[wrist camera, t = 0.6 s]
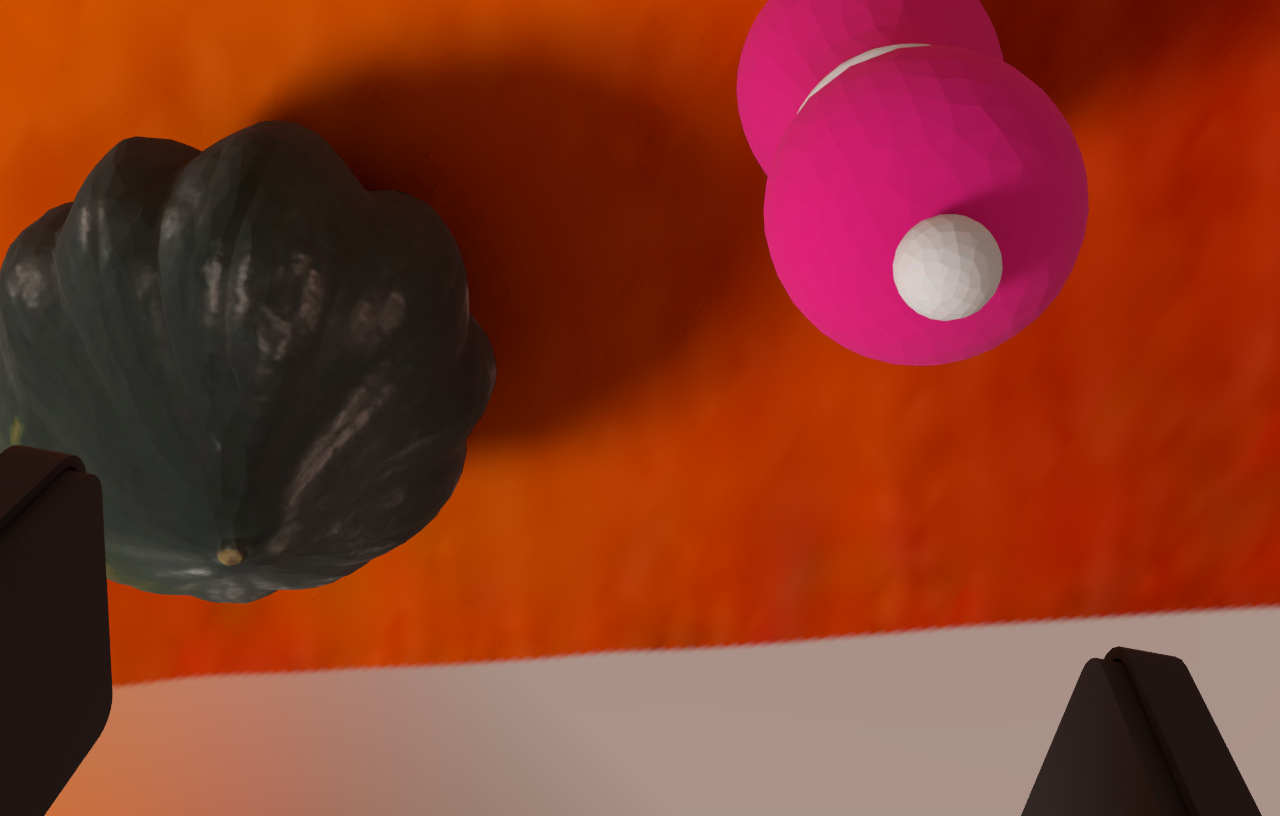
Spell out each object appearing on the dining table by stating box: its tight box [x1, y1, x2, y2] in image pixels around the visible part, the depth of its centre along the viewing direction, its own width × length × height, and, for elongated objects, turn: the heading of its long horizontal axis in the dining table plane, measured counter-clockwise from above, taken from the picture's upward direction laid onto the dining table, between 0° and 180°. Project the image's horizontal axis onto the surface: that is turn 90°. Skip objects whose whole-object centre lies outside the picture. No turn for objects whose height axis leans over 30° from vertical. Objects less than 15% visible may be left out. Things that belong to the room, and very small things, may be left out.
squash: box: [0, 120, 497, 603], centre depth 37 cm, size 14×15×15 cm
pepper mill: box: [737, 0, 1089, 366], centre depth 28 cm, size 7×7×20 cm
